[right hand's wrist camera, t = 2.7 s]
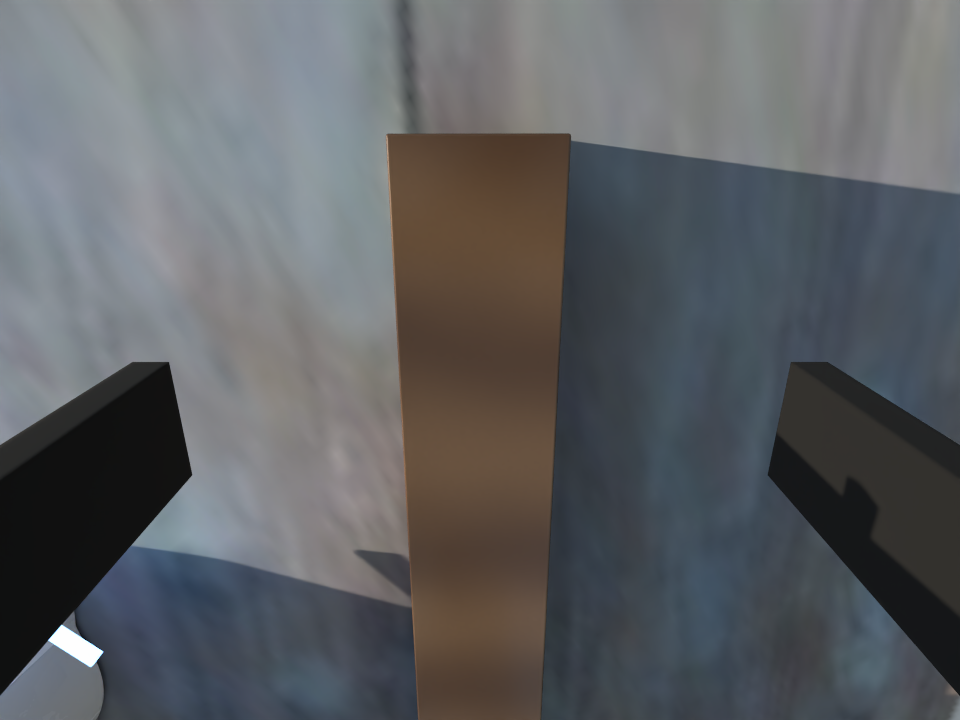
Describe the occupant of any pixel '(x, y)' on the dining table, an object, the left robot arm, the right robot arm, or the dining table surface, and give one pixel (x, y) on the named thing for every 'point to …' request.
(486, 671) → the bar
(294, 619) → the dining table surface
